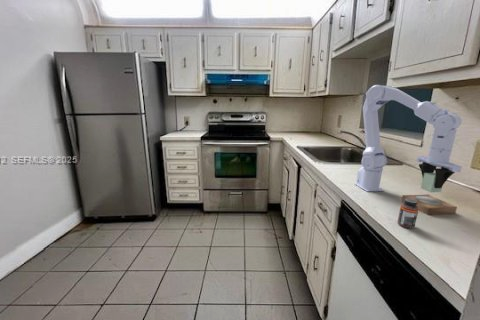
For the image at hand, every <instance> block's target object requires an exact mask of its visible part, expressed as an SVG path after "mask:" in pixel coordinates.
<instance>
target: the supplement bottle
mask: <svg viewBox="0 0 480 320" xmlns="http://www.w3.org/2000/svg"><path fill="white" fill-rule="evenodd" d="M416 205H417V201H415V200H413V199H405V202H402V203H401V204H400V208H399V214H398V218H397V224H398V225H399V226H401V227H402V228H405V229H414V228H415V226H416V223H417V218H418V214H419V208H418V207H417V206H416Z"/></svg>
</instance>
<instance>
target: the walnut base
mask: <svg viewBox="0 0 480 320" xmlns="http://www.w3.org/2000/svg"><path fill="white" fill-rule="evenodd" d="M401 198H402V199H401V202H402V203H404V202H405V199H413V200H415V201H417V205H416V206H417V207H418V208H419V210H418V212H421V213H424V214H425V215H426V216H427V215H450V214H456V213H457V209H458V208H457V207H458V206H455V205H454V204H451V203H449V202H446V201H444V200H442V199H440V198H437V197H435V196H432V195H431V194H403V195H402V197H401Z"/></svg>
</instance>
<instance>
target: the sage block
mask: <svg viewBox="0 0 480 320" xmlns="http://www.w3.org/2000/svg"><path fill="white" fill-rule="evenodd" d="M435 180H436V173H435V172H433V173H424V177H422V181H421V185H420V189H422V190H424V191H426V192H429V193H441V192H442V190H443V187H442V188H435Z"/></svg>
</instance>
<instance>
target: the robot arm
mask: <svg viewBox="0 0 480 320" xmlns="http://www.w3.org/2000/svg"><path fill="white" fill-rule="evenodd" d="M390 101H395V102H398V103H400V104H402V105H403V106H405V107H407V108H409V109H412V110H413V113H414V115H415V116H416V117H418V118H420V119H422V120H423V121H425V122H427V123H428V124H430V125H432V127H433V128H434V131H433V134H432V139H431V143H430V147H429V150H428V151H429V152H428V156H427V157H426V156H423V155H422V156H420V155H418V156H417V157H416V162H419V165H418V167H419V169H420V171H421V175H422V178H423V177H424V173H436V180H435V188H442V189H443V187H444V184H445V183H446V182H447V180H448V179H449V178H450V177H451V176H452V175H453V174H455V173H461V170H462V165H461V166H460V165H458V164H454V163H452V162H451V161H450V158H451V154H452V150H453V147H454V143H455V138H456V133H457V130H458V128H459V127H460V126H461V125H462V118H461V116H460V115H458V114H457V113H455V112H450V110H449V109H448V108H442V107H440V106H438V105H436V102H435V101H432V100H431V101H429V100H426V101H422V102H421V101H420V100H418V99H416V98H415V97H413V96H411V95H409V94H408V93H406V92H404V91H402V90H400V89H399V88H396V87H393V86H391V85H381V84H374V85H373V86H371V87H369V89H368V90H367V91H366V93H365V100H364V103H363V106H362V115H363V126H364V127H363V128H364V137H365V138H364V141H365V149H364V150H363V152H362V157H361V167H360V168H358V169H359V170H358V171H357V176H356V182H355V183H353V184H354V185H355V186H357V187H359V188H360V189H362V190H364V191H366V192H384V191H385V189H383V188H380V184H381V180H382V174H383V168H384V167H385V166H386V165H387V163H388V159H387V156H386V155H385V150H384V149H383V148H382V146H381V137H380V125H379V113H378V110H380V109H381V107H382V106H384V105H385V104H387V103H388V102H390Z"/></svg>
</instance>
